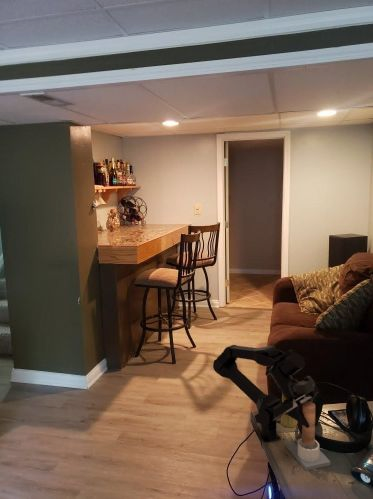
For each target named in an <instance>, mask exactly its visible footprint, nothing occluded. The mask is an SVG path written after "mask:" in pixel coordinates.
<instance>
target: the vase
mask: <svg viewBox="0 0 373 499" xmlns="http://www.w3.org/2000/svg"><path fill="white" fill-rule="evenodd" d="M284 400H286V398H285V397H284V395H283V393H282V392H281V402H284ZM293 401H294V400H293ZM285 413H287V411H286V412H284V414H283V415H282V416H281V418H280V423H281V425H282V426H283V427H286V428H294V427H296V426H297V425H298V421H297V420H295V419H294V418H292V417H290V416H289V415H285Z"/></svg>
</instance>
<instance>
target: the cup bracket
mask: <svg viewBox="0 0 373 499" xmlns="http://www.w3.org/2000/svg"><path fill="white" fill-rule="evenodd" d="M284 444H285V447H286V449H287V450H288V451H289V453H291V454H292V456H293V457H294V459H296V461H297V462H298V464H299V465H301V467H302V468H303V469H304V471H305V472H306V471H309V470H315V469H319V468H324V467H329V466H331V460H329V459H328V457H327V456H326V455H325V454H324V453H323V452H322V451H321V450H320V443H319V442H318V441H317V440H316V439H315V443H314V444H313V445H306V444H304V443H303V442H302V437H299V439H294V440H292V441H288V442H285V443H284Z"/></svg>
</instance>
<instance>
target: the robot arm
mask: <svg viewBox="0 0 373 499" xmlns="http://www.w3.org/2000/svg"><path fill="white" fill-rule="evenodd" d="M238 359H240V360H241V359H243V360H249V361H253V362H255V363H256V364H258V365H260V366H263V367H266V370H265V376H269V375H270V376H271V378H272V379H273V380H274V382H275V384H276V385H277V387H278V388H277V389H276V390H277V392H278V393H280V392H281V394H282V393H283V395H284V397H285V398H286V400H284V402H282V399H280V398H278V397H277V396H276V395H275V394H274V393H273V392H270V393H269V394H266V393H265V392H264V391H262V390H261V389H260V388H259V387H258V386H257V385H255V383H253V381H252V380H250V379H249V378H248V377H247V376H246V375H245V374H244V373H243V372H241V370H239V367H238V364H237V362H236V361H237V360H238ZM305 365H306V361H305V358H304V357H303V356H302V355H300V354H299V353H298V352H295V351H294V349H289V350H288V351H287V352H283V351H282V350H280V349H278V348H277V347H276V346H275V345H268V346H261V347H251V346H242V345H237V344H232V345H229V346H226V347H225V348H224V349H223V351H222V352H221V353H220V354H219V355H218V356H217V358H216V359H214V361H213V364H212V368H213V371H214V372H215V373H216V374H218V375H219V376H221V377H222V378H225V379H229V380H230V381H231V382H232V383H233V384H234V385H235V386H236V387H237V388H239V389H240V391H242V393H244V394H245V395H246V396H247V397H248V398H249V399H250V400H251V401H252V402H253V403H254V404H255V405H256V409H257V412H258V413H256V414H254V418H255V423H258V424H260V429H258V430H256V433H257V434H258V436H259V438H261V440H262V441H263V442H264V443H267V442H268V443H269V442H272V441H278V440H280V439H281V436H280V434H278V433H277V432H278V431H277V426H278V425H277V422H278V420H279V419H281V416H282V415H283V414H284V412H286V411H287V413H285V415H289V416H290V417H292V418H294V419H295V420H297V423H299V424H301V426H302V425H303V426H305V427H306V428H309V427H310V426H309V424H308V422H307V420H306V418H305V417H304V415H303V413H302V408H303V402H307V401H308V402H312V403H314V399H315V395H316V394H317V393H319V392H320V390H319V388H318V386H317V385H316V382H315V379H313V378H312V376H310V375H307V376H305V377H303V380H300V381H299V380H298V378H296V377H294V378H293V375H295V374H296V373H297V372H299V371H300V370H302V369H303V368H305ZM293 400H294V401H293ZM299 402H300V404H299V405H298V403H299ZM316 415H317V414H315V424H316V423H317V422H318V419H317V416H316Z"/></svg>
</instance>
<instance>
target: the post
mask: <svg viewBox="0 0 373 499" xmlns="http://www.w3.org/2000/svg"><path fill="white" fill-rule="evenodd" d="M301 412H302V413H303V415H304V417H305V418H306V420H307V422H308V424H309V426H310V427H309V428H306V427H305V426H303V425H302V424H301V438H302V442H303V443H304V444H306V445H313V444H314V443H315V440H316V439H315V437H316V435H315V434H316V423H315V415H316V404H315V403H314V402H313V403H312V402H308V401H307V402H303V408H301Z"/></svg>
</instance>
